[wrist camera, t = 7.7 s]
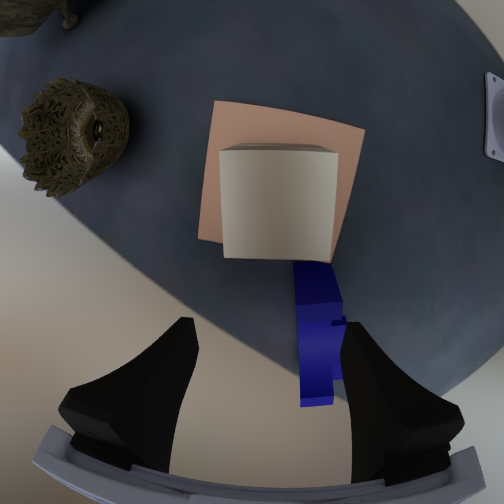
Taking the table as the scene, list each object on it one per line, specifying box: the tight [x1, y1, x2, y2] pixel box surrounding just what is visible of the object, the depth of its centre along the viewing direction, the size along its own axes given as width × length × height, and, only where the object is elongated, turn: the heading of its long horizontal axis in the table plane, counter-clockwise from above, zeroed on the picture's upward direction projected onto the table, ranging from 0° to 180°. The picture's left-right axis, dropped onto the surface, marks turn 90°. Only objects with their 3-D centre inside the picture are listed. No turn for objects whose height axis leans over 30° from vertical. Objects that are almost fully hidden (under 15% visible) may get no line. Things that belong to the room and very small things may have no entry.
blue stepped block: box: [293, 261, 347, 407], centre depth 22 cm, size 12×4×6 cm, turn 8°
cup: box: [18, 78, 131, 198], centre depth 15 cm, size 8×7×8 cm
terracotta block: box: [198, 101, 365, 263], centre depth 18 cm, size 9×9×4 cm
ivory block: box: [219, 143, 338, 261], centre depth 13 cm, size 4×4×6 cm
